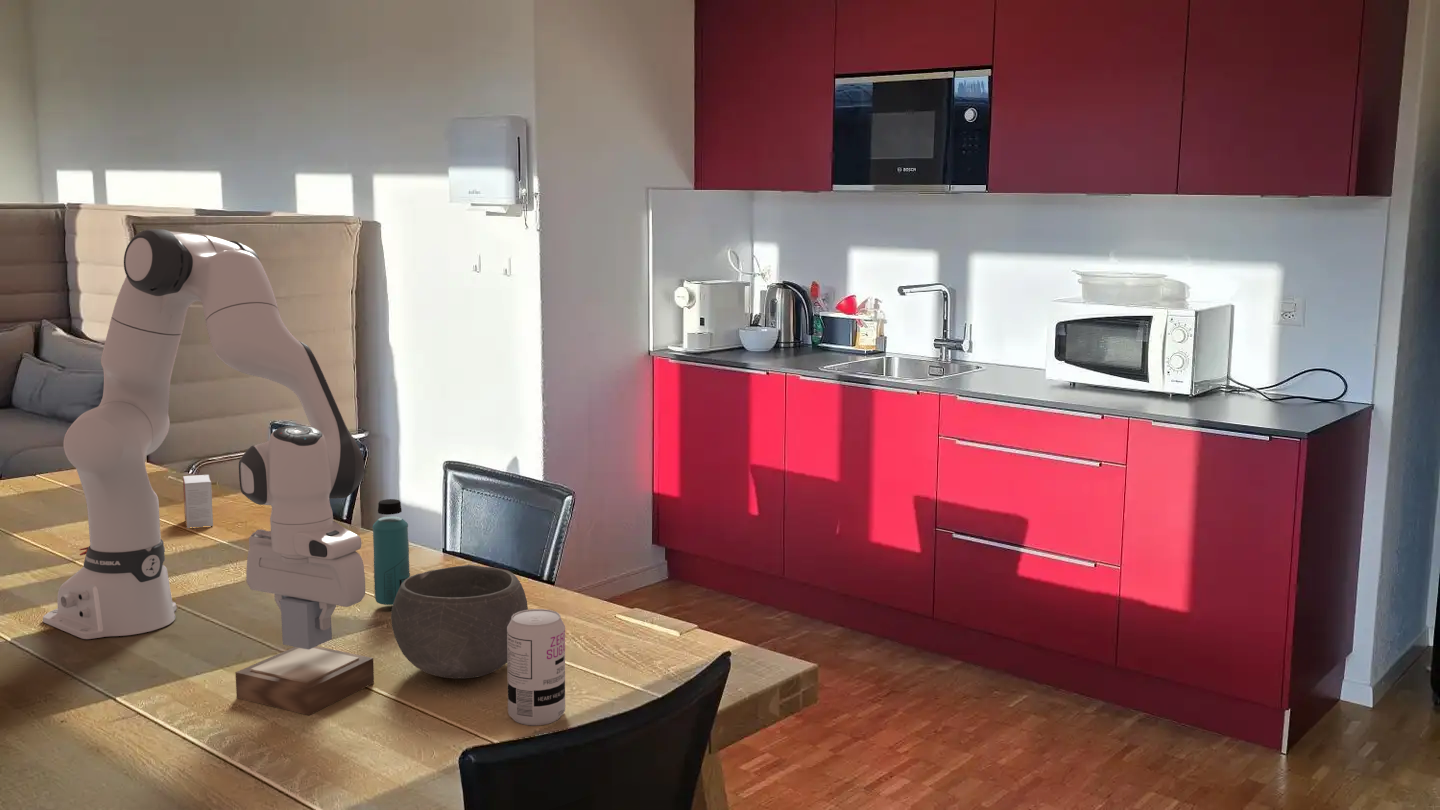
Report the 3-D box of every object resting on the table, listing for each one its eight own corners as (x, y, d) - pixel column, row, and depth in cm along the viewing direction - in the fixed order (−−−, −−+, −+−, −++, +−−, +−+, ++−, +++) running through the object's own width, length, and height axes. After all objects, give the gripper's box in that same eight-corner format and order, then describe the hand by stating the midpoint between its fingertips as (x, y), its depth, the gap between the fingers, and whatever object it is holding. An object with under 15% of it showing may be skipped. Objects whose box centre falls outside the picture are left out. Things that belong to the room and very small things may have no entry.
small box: (184, 521, 289) (182, 475, 287) (211, 518, 291) (209, 473, 289) (186, 529, 281) (183, 483, 280) (213, 527, 284) (211, 481, 282)
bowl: (463, 708, 187) (462, 610, 184) (363, 678, 198) (361, 585, 195) (555, 665, 204) (555, 575, 202) (459, 639, 215) (457, 554, 213)
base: (236, 697, 189) (235, 670, 188) (304, 667, 202) (303, 641, 201) (309, 715, 183) (308, 687, 183) (373, 682, 196) (373, 656, 195)
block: (282, 644, 190) (280, 599, 189) (306, 634, 195) (304, 590, 194) (308, 649, 188) (306, 604, 187) (332, 639, 193) (330, 594, 192)
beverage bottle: (401, 614, 228) (399, 505, 224) (367, 611, 229) (364, 503, 226) (417, 603, 234) (415, 497, 231) (383, 600, 235) (381, 495, 232)
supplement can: (510, 705, 188) (509, 607, 186) (566, 704, 189) (566, 607, 187) (505, 727, 180) (504, 626, 178) (564, 726, 181) (564, 625, 179)
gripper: (233, 532, 190) (238, 621, 192) (341, 549, 182) (344, 642, 184) (264, 523, 196) (269, 609, 198) (370, 539, 187) (373, 629, 190)
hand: (306, 625), depth 191 cm, fingers closed on block, 5 cm apart
